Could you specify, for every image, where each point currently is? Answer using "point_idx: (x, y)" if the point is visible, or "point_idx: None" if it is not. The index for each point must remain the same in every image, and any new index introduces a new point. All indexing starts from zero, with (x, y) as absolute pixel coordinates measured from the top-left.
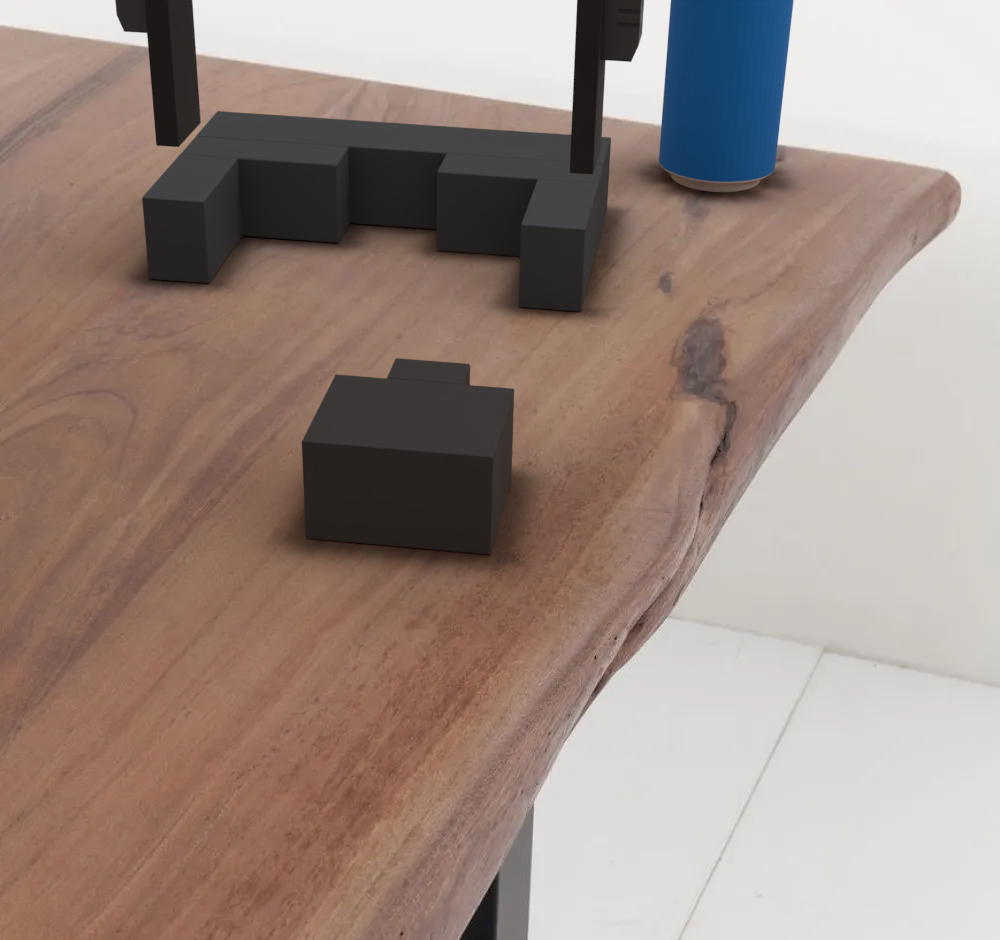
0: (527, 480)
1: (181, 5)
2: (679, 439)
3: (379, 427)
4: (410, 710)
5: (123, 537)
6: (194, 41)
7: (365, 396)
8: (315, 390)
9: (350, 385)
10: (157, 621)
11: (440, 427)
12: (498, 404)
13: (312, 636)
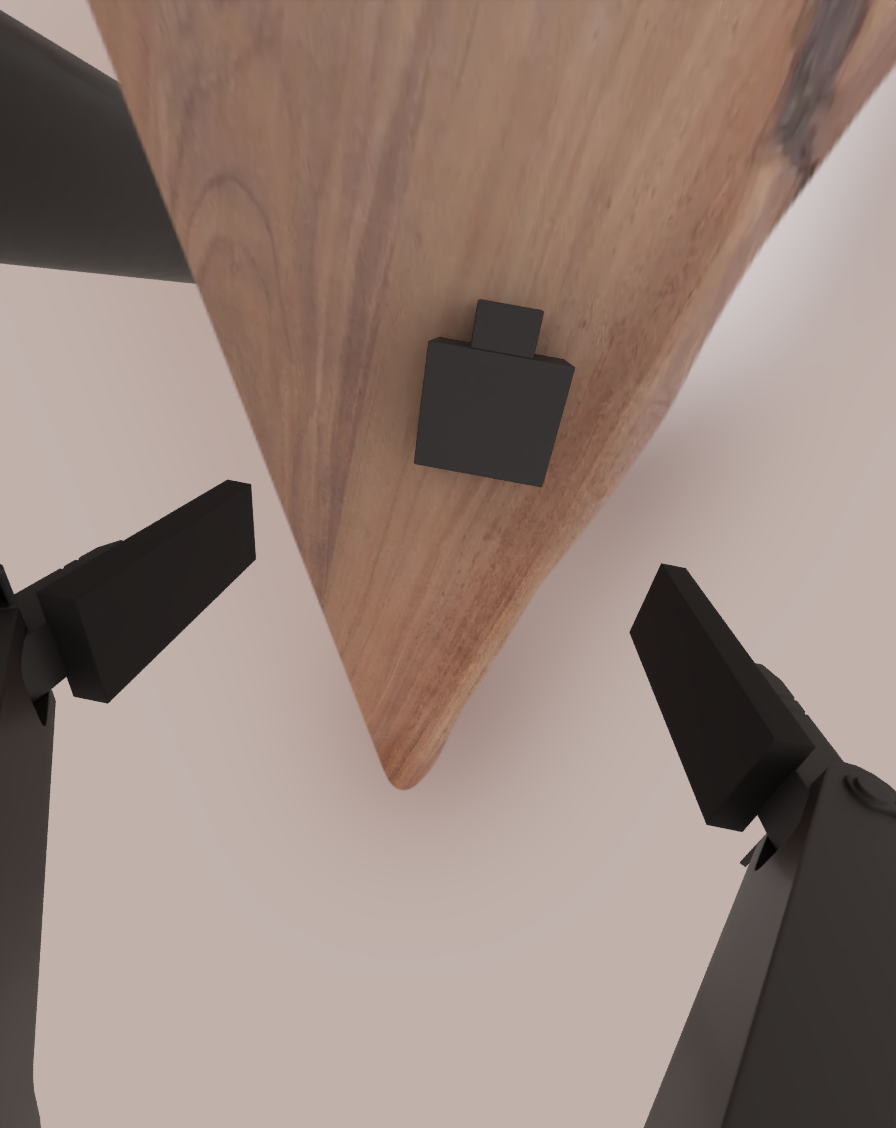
0: (577, 354)
1: (171, 584)
2: (724, 266)
3: (465, 442)
4: (484, 602)
5: (318, 441)
6: (200, 521)
7: (454, 386)
8: (409, 160)
9: (441, 366)
10: (359, 530)
11: (509, 442)
12: (557, 400)
13: (437, 545)
